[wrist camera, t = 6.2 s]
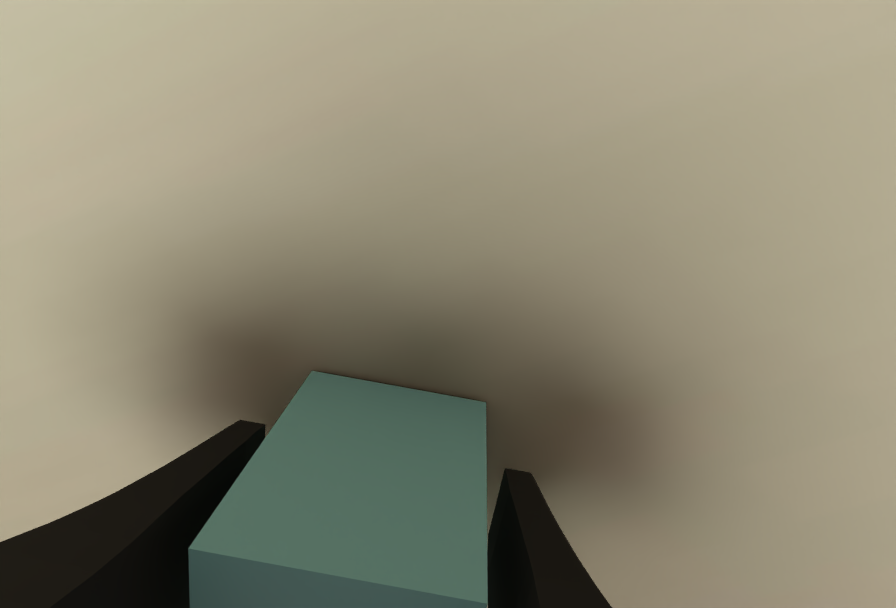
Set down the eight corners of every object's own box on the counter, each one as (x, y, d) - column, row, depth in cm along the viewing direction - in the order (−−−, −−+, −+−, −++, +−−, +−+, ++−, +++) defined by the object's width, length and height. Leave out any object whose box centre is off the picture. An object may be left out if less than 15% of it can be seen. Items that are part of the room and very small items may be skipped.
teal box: (486, 402, 12) (488, 611, 7) (452, 552, 14) (433, 811, 9) (312, 370, 12) (183, 555, 7) (300, 524, 14) (189, 765, 9)
